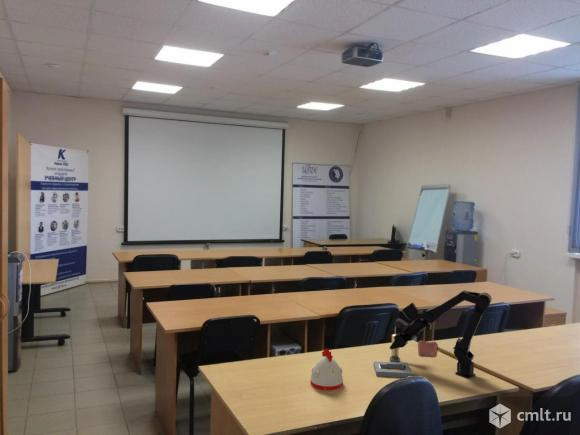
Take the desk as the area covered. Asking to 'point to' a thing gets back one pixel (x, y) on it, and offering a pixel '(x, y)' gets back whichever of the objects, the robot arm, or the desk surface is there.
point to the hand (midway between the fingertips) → (393, 346)
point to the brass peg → (394, 352)
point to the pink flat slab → (427, 349)
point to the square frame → (392, 373)
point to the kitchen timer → (326, 373)
